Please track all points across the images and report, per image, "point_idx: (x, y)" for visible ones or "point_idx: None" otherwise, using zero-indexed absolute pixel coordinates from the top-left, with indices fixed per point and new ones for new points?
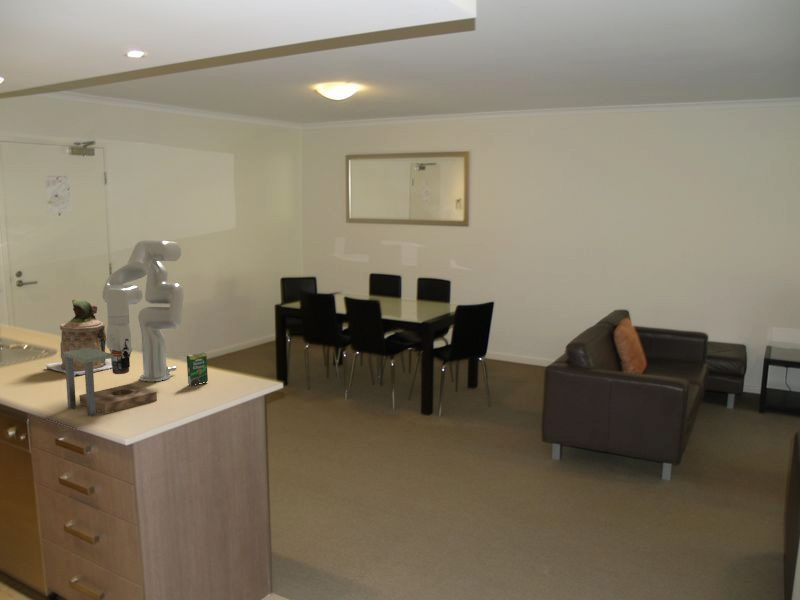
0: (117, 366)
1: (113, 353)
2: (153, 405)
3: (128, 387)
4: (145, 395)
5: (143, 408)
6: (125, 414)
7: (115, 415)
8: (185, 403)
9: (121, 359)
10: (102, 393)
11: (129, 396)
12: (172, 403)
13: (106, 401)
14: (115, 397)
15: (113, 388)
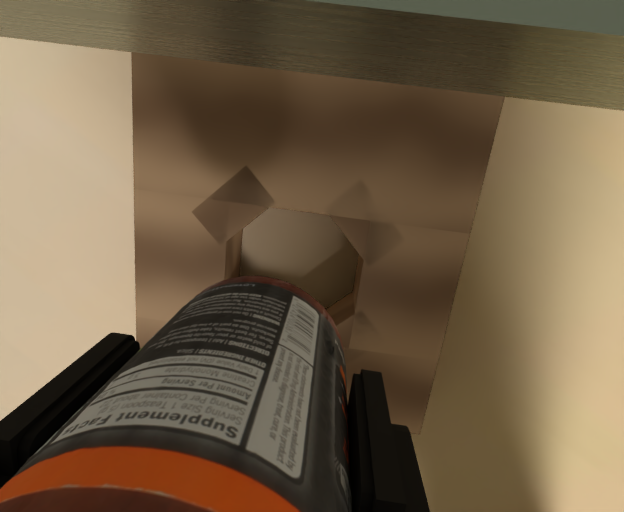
0: (169, 325)
1: (88, 496)
2: (99, 294)
3: (358, 373)
4: (140, 320)
5: (91, 233)
6: (64, 103)
7: (89, 54)
8: (15, 389)
9: (2, 419)
10: (391, 193)
11: (172, 243)
12: (59, 361)
13: (188, 75)
14: (226, 178)
15: (426, 312)
